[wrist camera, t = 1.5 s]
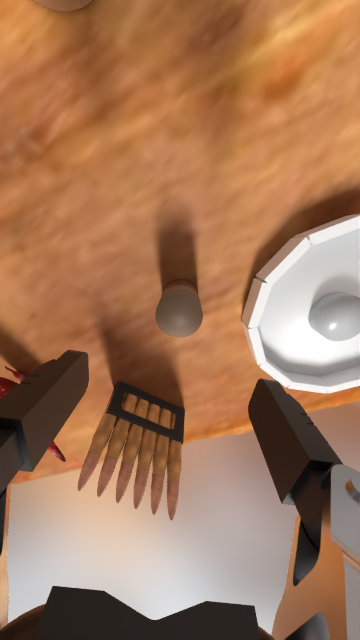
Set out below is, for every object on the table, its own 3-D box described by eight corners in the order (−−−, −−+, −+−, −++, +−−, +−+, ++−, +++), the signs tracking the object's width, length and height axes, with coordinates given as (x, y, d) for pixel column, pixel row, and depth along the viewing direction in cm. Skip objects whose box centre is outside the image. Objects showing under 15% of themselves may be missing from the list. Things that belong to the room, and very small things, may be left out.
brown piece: (165, 276, 21) (158, 289, 15) (201, 282, 21) (207, 297, 15) (161, 310, 22) (153, 333, 17) (194, 315, 22) (197, 340, 17)
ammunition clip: (113, 389, 27) (64, 492, 16) (118, 380, 26) (71, 481, 15) (178, 417, 29) (175, 527, 18) (185, 409, 28) (185, 518, 17)
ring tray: (276, 202, 18) (290, 196, 16) (464, 236, 19) (504, 235, 16) (226, 367, 25) (230, 380, 23) (363, 386, 26) (380, 401, 24)
